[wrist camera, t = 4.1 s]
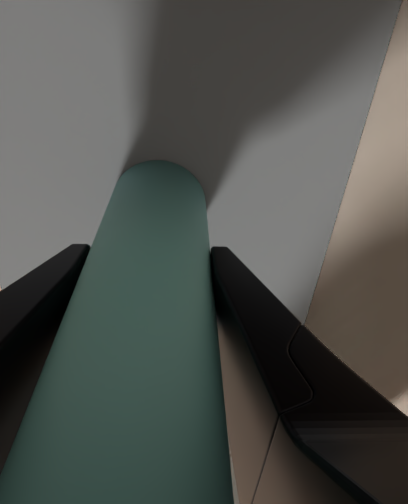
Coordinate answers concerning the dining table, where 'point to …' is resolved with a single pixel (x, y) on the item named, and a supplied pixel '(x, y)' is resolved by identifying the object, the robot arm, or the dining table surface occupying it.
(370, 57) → the mat
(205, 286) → the teal peg
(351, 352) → the dining table surface
